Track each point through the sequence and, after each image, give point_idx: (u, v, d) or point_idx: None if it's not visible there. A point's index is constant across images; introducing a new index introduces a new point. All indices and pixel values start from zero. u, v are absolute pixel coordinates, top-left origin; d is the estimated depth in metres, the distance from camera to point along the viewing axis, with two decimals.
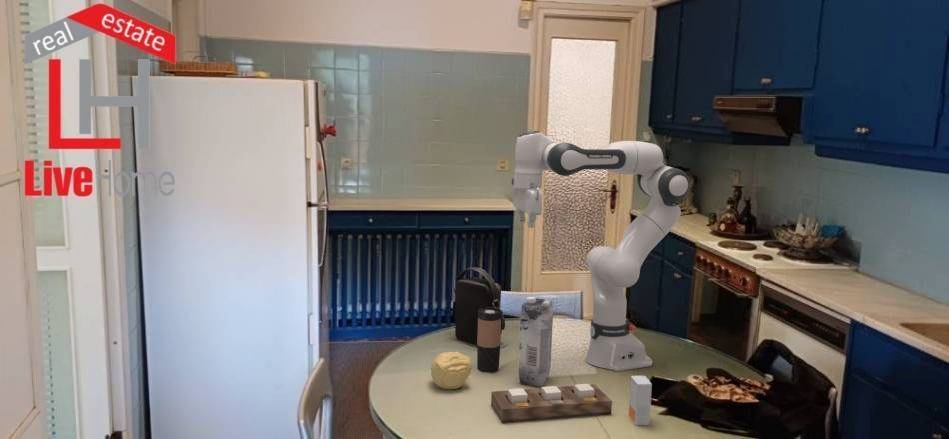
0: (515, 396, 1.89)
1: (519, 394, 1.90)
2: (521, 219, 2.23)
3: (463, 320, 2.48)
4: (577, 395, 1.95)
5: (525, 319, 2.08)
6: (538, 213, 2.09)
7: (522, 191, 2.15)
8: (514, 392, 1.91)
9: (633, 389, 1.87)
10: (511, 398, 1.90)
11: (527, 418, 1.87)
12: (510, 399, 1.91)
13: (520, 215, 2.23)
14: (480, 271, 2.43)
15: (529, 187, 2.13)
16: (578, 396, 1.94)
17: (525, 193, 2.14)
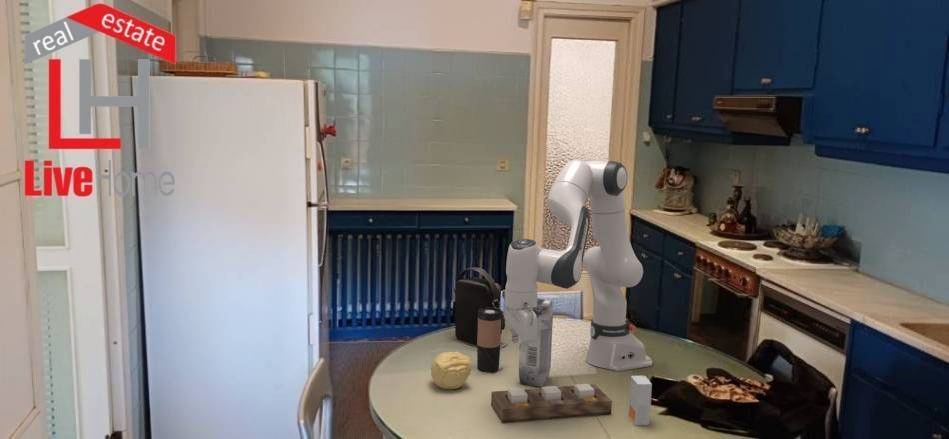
0: (515, 396, 1.89)
1: (519, 394, 1.90)
2: (514, 339, 1.92)
3: (463, 320, 2.48)
4: (577, 395, 1.95)
5: None
6: (532, 340, 1.79)
7: (514, 310, 1.85)
8: (514, 392, 1.91)
9: (633, 389, 1.87)
10: (511, 398, 1.90)
11: (527, 418, 1.87)
12: (510, 399, 1.91)
13: (513, 333, 1.93)
14: (480, 271, 2.43)
15: (522, 307, 1.83)
16: (578, 396, 1.94)
17: (518, 313, 1.84)
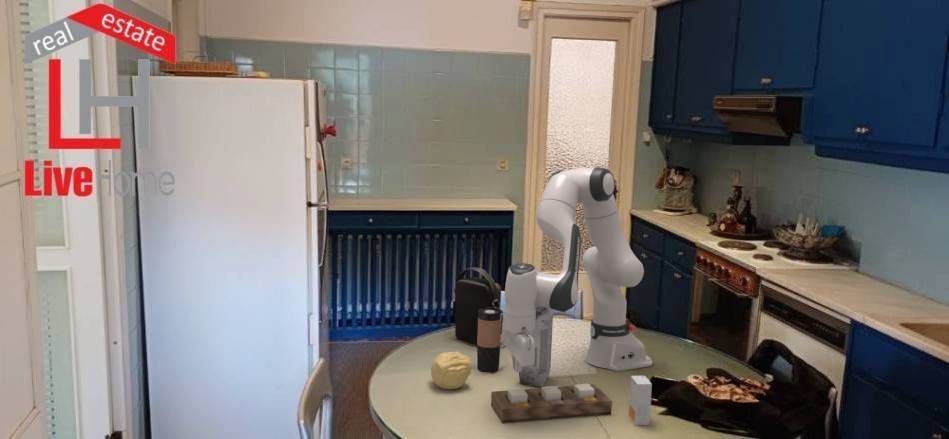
0: (515, 396, 1.89)
1: (519, 394, 1.90)
2: None
3: (463, 320, 2.48)
4: (577, 395, 1.95)
5: None
6: (530, 365, 1.80)
7: (512, 334, 1.86)
8: (514, 392, 1.91)
9: (633, 389, 1.87)
10: (511, 398, 1.90)
11: (527, 418, 1.87)
12: (510, 399, 1.91)
13: (514, 361, 1.91)
14: (480, 271, 2.43)
15: (520, 331, 1.84)
16: (578, 396, 1.94)
17: (516, 337, 1.85)
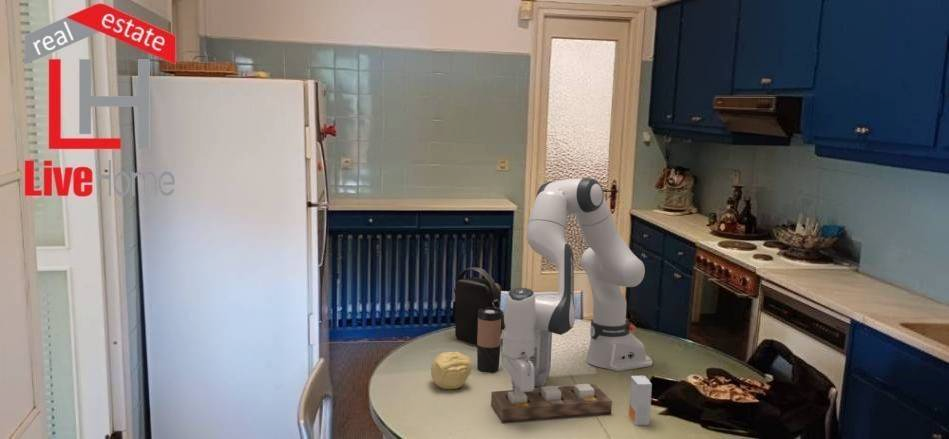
0: (515, 398, 1.89)
1: (519, 396, 1.90)
2: None
3: (463, 320, 2.48)
4: (577, 395, 1.95)
5: None
6: (530, 390, 1.81)
7: (512, 359, 1.87)
8: (514, 394, 1.91)
9: (633, 389, 1.87)
10: (511, 401, 1.90)
11: (527, 418, 1.87)
12: (510, 401, 1.91)
13: (514, 384, 1.92)
14: (480, 271, 2.43)
15: (520, 356, 1.85)
16: (578, 396, 1.94)
17: (515, 362, 1.86)
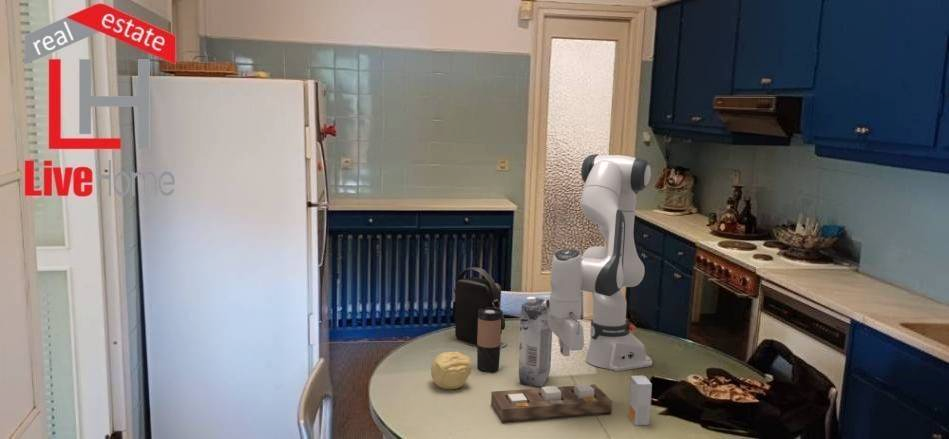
0: (515, 401, 1.89)
1: (519, 399, 1.90)
2: None
3: (463, 320, 2.48)
4: (577, 395, 1.95)
5: (525, 319, 2.08)
6: (579, 348, 1.83)
7: (560, 319, 1.89)
8: (514, 397, 1.91)
9: (633, 389, 1.87)
10: (510, 403, 1.90)
11: (527, 418, 1.87)
12: None
13: (561, 345, 1.94)
14: (480, 271, 2.43)
15: (568, 316, 1.87)
16: (578, 396, 1.94)
17: (563, 322, 1.88)
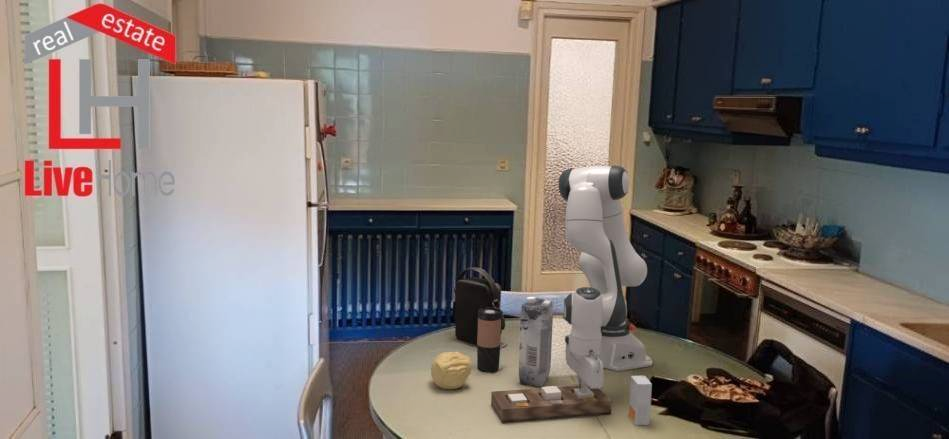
0: (515, 401, 1.89)
1: (519, 399, 1.90)
2: None
3: (463, 320, 2.48)
4: None
5: (525, 319, 2.08)
6: (599, 387, 1.86)
7: (579, 357, 1.92)
8: (514, 397, 1.91)
9: (633, 389, 1.87)
10: (510, 403, 1.90)
11: (527, 418, 1.87)
12: None
13: (580, 382, 1.97)
14: (480, 271, 2.43)
15: (588, 354, 1.90)
16: None
17: (583, 360, 1.91)
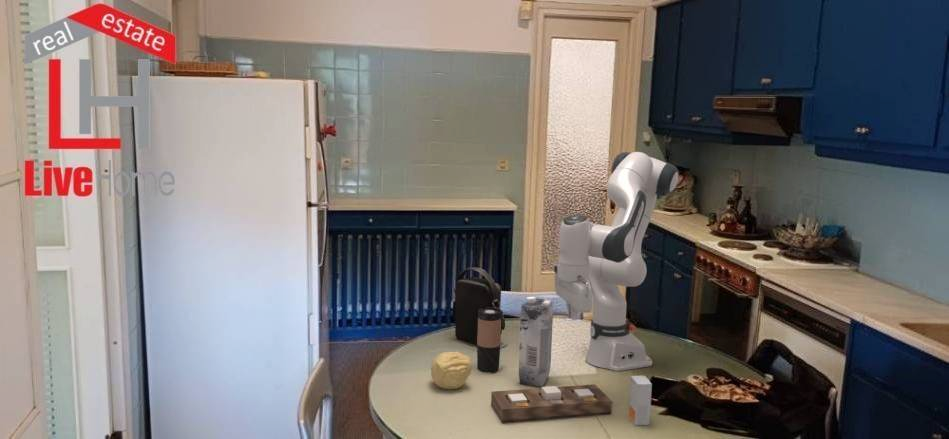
0: (515, 401, 1.89)
1: (519, 399, 1.90)
2: None
3: (463, 320, 2.48)
4: None
5: (525, 319, 2.08)
6: (588, 310, 1.88)
7: (568, 283, 1.93)
8: (514, 397, 1.91)
9: (633, 389, 1.87)
10: (510, 403, 1.90)
11: (527, 418, 1.87)
12: None
13: (569, 309, 1.98)
14: (480, 271, 2.43)
15: (576, 280, 1.91)
16: None
17: (572, 286, 1.92)
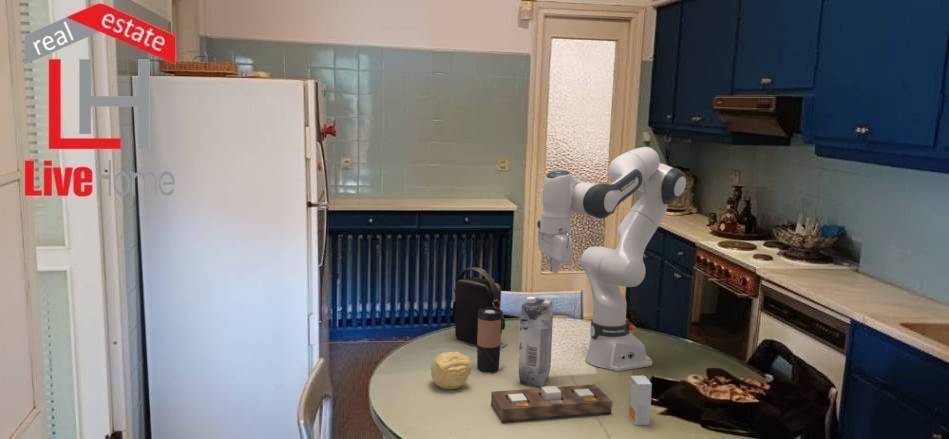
0: (515, 401, 1.89)
1: (519, 399, 1.90)
2: None
3: (463, 320, 2.48)
4: None
5: (525, 319, 2.08)
6: (568, 261, 1.92)
7: (550, 236, 1.98)
8: (514, 397, 1.91)
9: (633, 389, 1.87)
10: (510, 403, 1.90)
11: (527, 418, 1.87)
12: None
13: (551, 263, 2.03)
14: (480, 271, 2.43)
15: (558, 232, 1.96)
16: None
17: (553, 239, 1.97)
